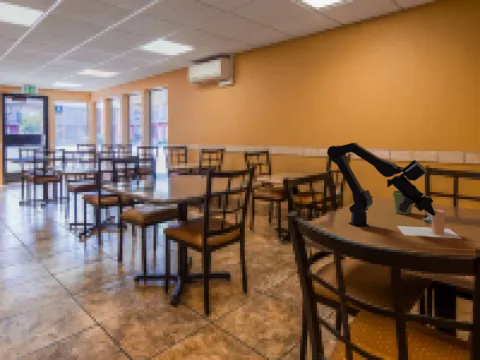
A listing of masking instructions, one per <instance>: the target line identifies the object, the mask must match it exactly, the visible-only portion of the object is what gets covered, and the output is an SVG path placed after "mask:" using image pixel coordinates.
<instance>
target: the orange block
mask: <svg viewBox="0 0 480 360" xmlns="http://www.w3.org/2000/svg"><path fill="white" fill-rule="evenodd" d="M433 210H434V212H435V215H434V216H432V215H431V216H432V223H431V227H430V228H431V230H432V231H433V232H434V233H435V234H444V229H445V226H446V225H445V223H446V211H443V210H442V209H435V208H433Z"/></svg>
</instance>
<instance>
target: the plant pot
mask: <svg viewBox="0 0 480 360" xmlns="http://www.w3.org/2000/svg"><path fill="white" fill-rule="evenodd" d="M391 193H392V197H393V203H394V208H395V214H399V215H411V214H412V212H413V211H412V210H413V207H414V204H410V206H409V207H408V209H407V212H406V213H404V212H401V211H399V210H398V209H397V208H396V207H397V205H398V203H399V202H400V200H401V199H402V197H403V196H402V195H401V193H400V192H399V191H398V190H392V191H391Z"/></svg>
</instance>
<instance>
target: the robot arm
mask: <svg viewBox="0 0 480 360" xmlns="http://www.w3.org/2000/svg"><path fill="white" fill-rule="evenodd" d="M326 150H327V151H326V154H327V156H328V157H329V159H330V160H331V162H333V163H334V164H335V165H336V166H337V167H338V169H339V171H340V173H341V174H342V177H343V178H344V180H345V182H346V184H347V186H348V187H349V189H350V191H351V195H352V201H353V204H351V206H349V208H348V210H349V212H350V213H351V214H350V215H351V218H350V222H348V224H349V225H352V226H354V227H366V226H370V224H369V223H367V221H368V220H367V219H368V218H367V217H368V216H367V215H368V214H367V213H368V211H369V208H370V207H371V206H373V202H374V201H373V198H374V196H372V195H371V192H370V190H369V189H367V190H365V189H364V188H363V187H362V186H361V184H360V182H359V180H358V179H357V177H356V175H355V173H354V171H353V170H352V168H351V166H350V164H349V162H348V161H347V160H348V158H347V154H349V153H352V154H354V155H356V156H357V157H359V158H360V159H362V160H363V161H365V162H367V163H369V164H370V165H372V167H374V168H375V170H376V171H377V172H378V173H379V174H380V175H382V177H384V178H388V179H387V181H386V183H387V184H386V187H387V188H389V187H391V186H393V187H394V188H395V189H396V191H399V192H400V193H401V195H402V196H403V197H402V199H401V200H400V202H399V203H398V205H397V207H396V208H397V209H398V210H399V211H401V212H404V213H406V212H407V209H408V207H409V206H410V204H413V207H414V208H416V210H418V211H419V212H423V211H425V212H426V213H427V212H428V213H429V214H431V216H434V215H435V212H434V210H433V209H434V206H433V204H432V203H434V200H433V199H432V197H430V196H428V195H425V194H424V193H423V192H421V191H420V190H419V188H417V186H416V185H415V184H413V183H412V182H411V181H413V182H416V181H418V180H419V179H420V178H422V176H424V175H426V174H427V173H428V170H427V169H426V167H424V165H422V164H421V163H420V162H418V161H417V160H416V159H414V160H412V161H410V163H409V164H408V165H406V166H405V167H402V166H399V165H398V164H397V163H395V162H393V161H390V160H388V159H387V160H386V159H384V158H381V157H379V156H377V155H376V154H374V153H373V152H371V151H369V150H368V149H366V148H364V147H363V146H361V145H359V144H358V143H357V142H349V143H347V144H343V145H331V146H329V147H328V148H327V149H326ZM398 174H399V175H398ZM391 177H392V178H391ZM389 178H391V179H389Z"/></svg>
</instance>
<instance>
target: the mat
mask: <svg viewBox="0 0 480 360" xmlns="http://www.w3.org/2000/svg"><path fill="white" fill-rule="evenodd" d="M396 227H397V228H398V229H399V231H400V232H401V233H402V235H403V236H412V237H413V236H415V237H428V238H429V237H430V238H447V239H448V238H449V239H463V238H462V237H461V236H460V235H458V234H457V233H456V232H454V231H452V230H451V229H450V228H444V234H435V233H434V232H433V231H432V230H431V227H424V226H423V227H421V226H405V225H403V226H402V225H401V226H400V225H396Z"/></svg>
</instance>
